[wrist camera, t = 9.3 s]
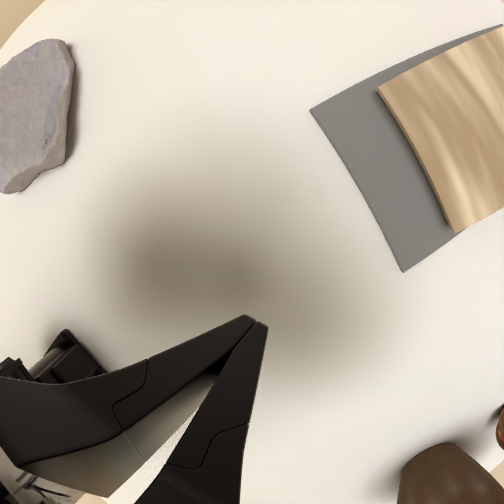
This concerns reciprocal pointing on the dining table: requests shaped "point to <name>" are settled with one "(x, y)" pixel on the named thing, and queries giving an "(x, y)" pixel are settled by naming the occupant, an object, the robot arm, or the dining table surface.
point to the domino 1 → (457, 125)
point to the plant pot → (447, 479)
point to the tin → (500, 430)
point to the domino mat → (388, 162)
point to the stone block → (34, 112)
